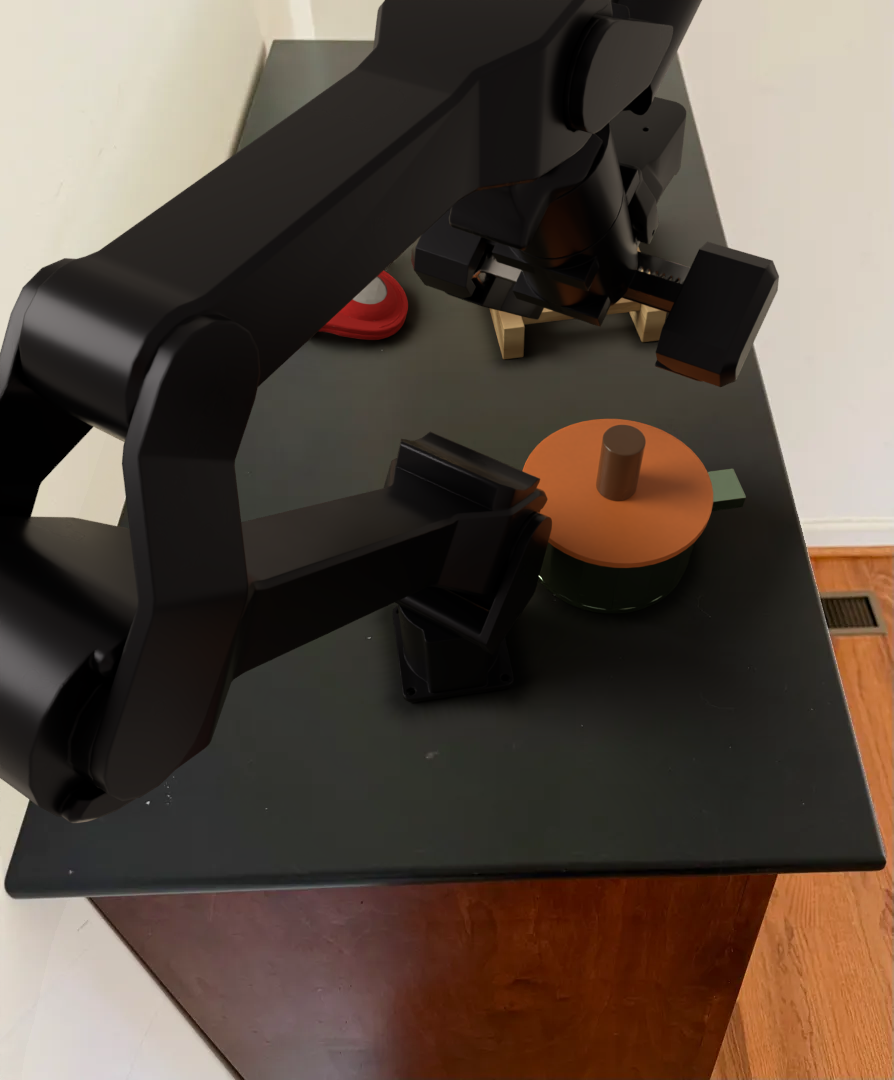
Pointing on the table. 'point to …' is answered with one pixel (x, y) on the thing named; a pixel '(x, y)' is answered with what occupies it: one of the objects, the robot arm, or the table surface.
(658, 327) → the rack
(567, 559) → the pot
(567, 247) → the robot arm
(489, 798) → the table surface
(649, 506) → the lid
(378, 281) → the tracker holder
